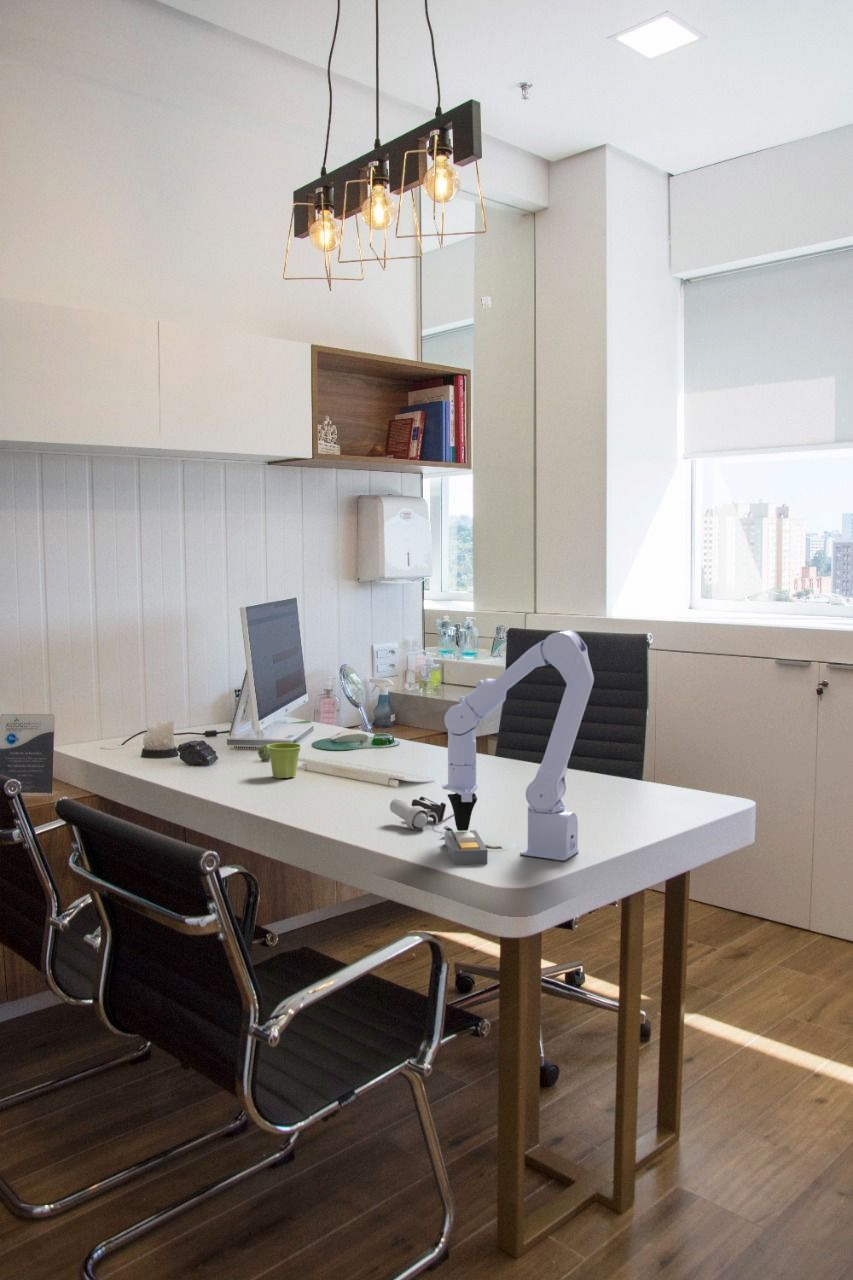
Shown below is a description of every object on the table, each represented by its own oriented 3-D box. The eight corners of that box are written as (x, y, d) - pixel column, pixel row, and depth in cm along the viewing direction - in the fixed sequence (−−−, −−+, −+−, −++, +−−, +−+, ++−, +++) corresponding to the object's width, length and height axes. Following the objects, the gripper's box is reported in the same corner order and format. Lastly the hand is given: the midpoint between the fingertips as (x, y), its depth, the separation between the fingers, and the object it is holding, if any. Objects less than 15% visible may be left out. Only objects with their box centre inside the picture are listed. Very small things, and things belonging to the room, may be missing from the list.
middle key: (455, 842, 209) (455, 833, 209) (472, 841, 210) (472, 832, 210) (458, 846, 206) (457, 837, 206) (475, 846, 206) (475, 837, 206)
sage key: (452, 838, 214) (452, 830, 214) (469, 838, 215) (469, 829, 215) (454, 843, 211) (454, 834, 211) (471, 842, 211) (471, 833, 211)
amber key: (459, 851, 205) (459, 842, 204) (476, 851, 205) (476, 842, 205) (461, 856, 201) (461, 847, 201) (478, 856, 201) (478, 846, 201)
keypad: (444, 843, 215) (444, 831, 215) (475, 842, 216) (475, 830, 216) (454, 864, 200) (454, 850, 200) (487, 863, 201) (487, 849, 201)
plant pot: (306, 774, 289) (305, 743, 288) (296, 781, 280) (295, 748, 279) (273, 773, 290) (273, 742, 290) (262, 780, 281) (261, 747, 281)
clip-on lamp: (474, 844, 227) (421, 811, 240) (481, 816, 226) (427, 785, 239) (433, 848, 219) (381, 814, 232) (440, 820, 218) (387, 787, 231)
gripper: (438, 757, 219) (438, 821, 220) (446, 770, 204) (446, 839, 205) (472, 756, 219) (472, 820, 220) (482, 769, 205) (482, 838, 206)
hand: (462, 829), depth 213 cm, fingers closed
